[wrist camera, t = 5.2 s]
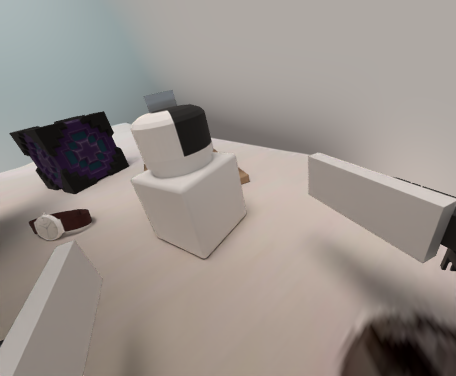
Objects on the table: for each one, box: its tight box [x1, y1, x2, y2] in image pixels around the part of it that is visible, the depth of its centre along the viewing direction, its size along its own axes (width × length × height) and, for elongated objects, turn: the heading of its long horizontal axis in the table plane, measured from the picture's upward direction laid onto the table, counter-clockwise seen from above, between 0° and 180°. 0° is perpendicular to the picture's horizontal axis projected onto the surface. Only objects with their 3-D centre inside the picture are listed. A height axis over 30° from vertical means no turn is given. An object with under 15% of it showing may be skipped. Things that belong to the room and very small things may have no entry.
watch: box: [29, 209, 92, 240], centre depth 27 cm, size 8×5×4 cm, turn 86°
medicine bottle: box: [131, 105, 246, 258], centre depth 19 cm, size 7×7×12 cm
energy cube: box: [10, 111, 129, 194], centre depth 42 cm, size 12×12×12 cm
